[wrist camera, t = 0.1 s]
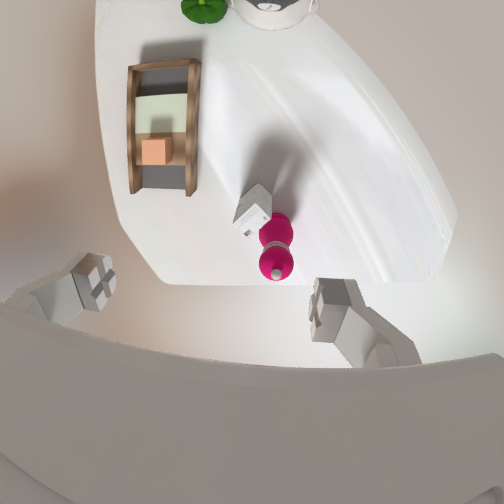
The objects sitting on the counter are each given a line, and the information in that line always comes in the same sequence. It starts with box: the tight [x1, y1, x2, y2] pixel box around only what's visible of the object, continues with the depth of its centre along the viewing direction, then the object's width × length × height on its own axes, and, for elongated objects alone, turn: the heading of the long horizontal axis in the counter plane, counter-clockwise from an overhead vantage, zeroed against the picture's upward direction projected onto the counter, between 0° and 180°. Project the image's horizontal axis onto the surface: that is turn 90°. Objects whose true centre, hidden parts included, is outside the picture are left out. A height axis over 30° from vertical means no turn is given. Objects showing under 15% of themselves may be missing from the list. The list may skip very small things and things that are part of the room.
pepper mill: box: [259, 213, 294, 281], centre depth 53 cm, size 7×7×20 cm
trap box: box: [127, 59, 201, 197], centre depth 49 cm, size 28×14×5 cm, turn 176°
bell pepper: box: [181, 0, 227, 24], centre depth 33 cm, size 8×8×10 cm
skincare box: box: [233, 183, 272, 238], centre depth 53 cm, size 6×4×12 cm
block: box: [142, 137, 172, 165], centre depth 49 cm, size 5×5×4 cm
